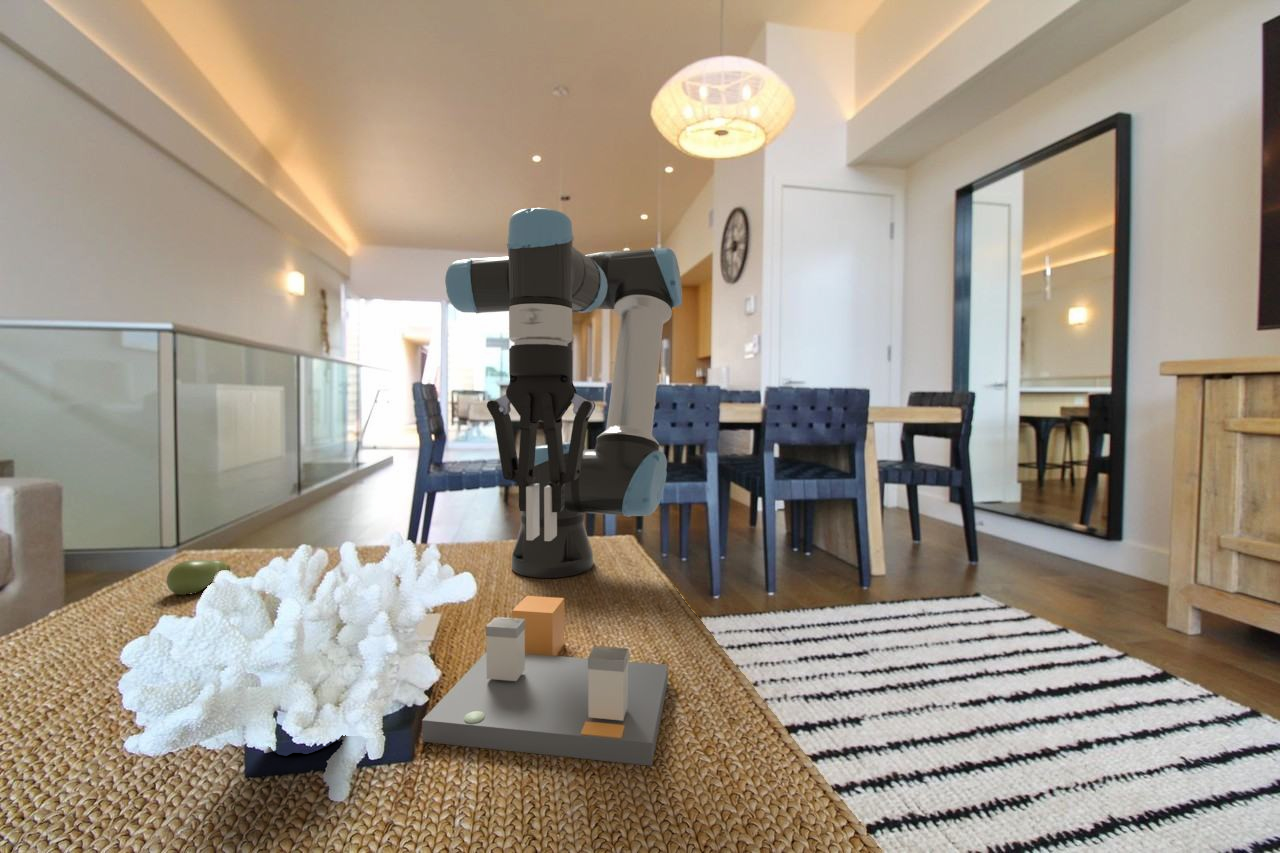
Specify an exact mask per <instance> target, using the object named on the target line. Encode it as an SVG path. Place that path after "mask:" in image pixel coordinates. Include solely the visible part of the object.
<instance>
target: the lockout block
mask: <svg viewBox="0 0 1280 853" xmlns="http://www.w3.org/2000/svg"><path fill="white" fill-rule="evenodd" d="M511 616H512V617H511V618H519V619H525V654H537V655H550V656H559V655H558V654H559V653H560V652H561V650H562V648H563V646H564V645H565V597H554V596H553V597H549V596H535V595H525V597H524V598H523V599H522V600H521V601H519V603H518V604H517V605H515V607H514V608H513V609H512V610H511Z"/></svg>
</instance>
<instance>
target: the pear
mask: <svg viewBox="0 0 1280 853" xmlns="http://www.w3.org/2000/svg"><path fill="white" fill-rule="evenodd" d="M221 570H229V571H230V572H231V567H230V565H229V564H228V563H225V562H224V561H221V560H218V559H211V560H208V559H192V560H186V561H182V562H179V563H177V564H176V565H174V566H173V567H172V568H171V569H170V570H169V571H168V574H167V575H166V585H167V587H168V590H169V591H171V592H172V593H173V594H176V595H179V596H187V595H186V594H190V593H195V592H197V593H199V592H201V591H203V590H204V589H206V588H207V587H208V586H209V585H211V584H212V583H213V582H212V581H213V579H214V576H215V574H216V573H217V572H219V571H221ZM211 582H212V583H211ZM210 583H211V584H210ZM195 594H196V593H195Z"/></svg>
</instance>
